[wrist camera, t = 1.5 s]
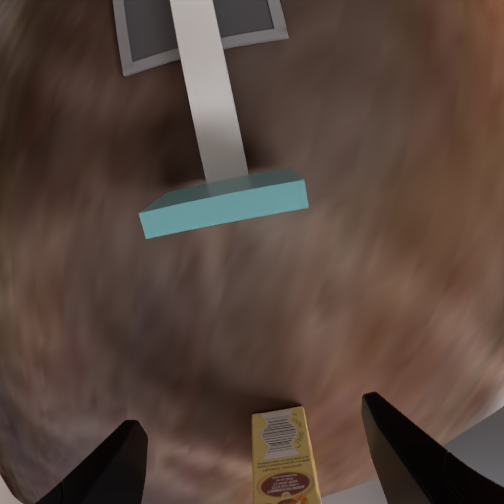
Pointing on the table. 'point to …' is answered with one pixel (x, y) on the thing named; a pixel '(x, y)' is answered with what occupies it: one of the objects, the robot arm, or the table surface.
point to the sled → (216, 141)
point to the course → (164, 35)
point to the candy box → (283, 459)
